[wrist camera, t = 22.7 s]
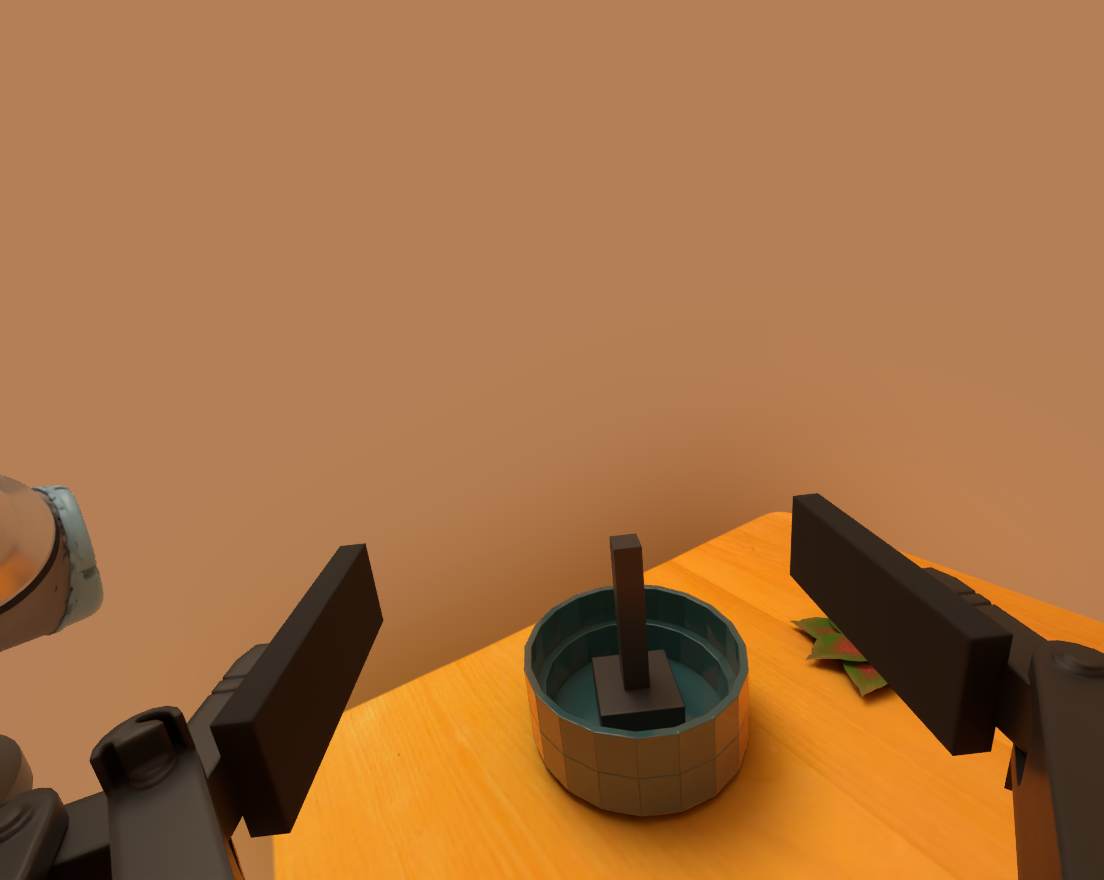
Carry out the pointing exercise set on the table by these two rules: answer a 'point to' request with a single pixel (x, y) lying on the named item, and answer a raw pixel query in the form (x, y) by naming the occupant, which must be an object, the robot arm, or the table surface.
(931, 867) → the table surface
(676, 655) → the bowl
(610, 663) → the post on square base
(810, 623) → the lily flower
